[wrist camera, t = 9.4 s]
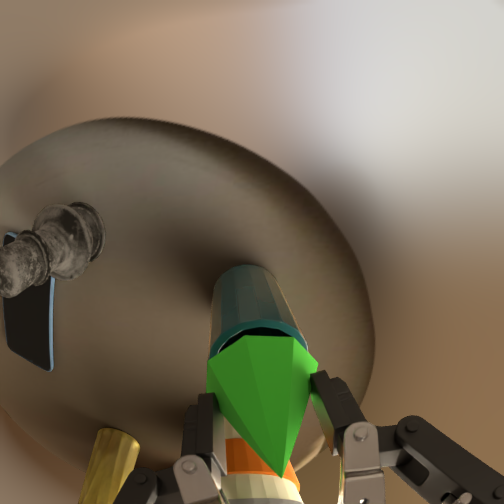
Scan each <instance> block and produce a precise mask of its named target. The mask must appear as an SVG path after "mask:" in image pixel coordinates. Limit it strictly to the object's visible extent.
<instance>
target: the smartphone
mask: <svg viewBox="0 0 504 504" xmlns="http://www.w3.org/2000/svg"><path fill="white" fill-rule="evenodd" d="M17 235H18V234H15V233H13V232H8V233H6V234H5V236H4V239H3V246H5V245H7V244H9V243H12V242H14V241H15V238H16V236H17ZM54 283H55V278H53V277H52V276H50V275H49V277H48V279H47V281H46V282H44V283H43V284H42V285H39V286H34V285H30V286H29V287H27V288H26V289H25V290H23V291H22V292H21V293H19V294H18V295H17V296H14V297H11V298H6V297H3V296H2V297H3V313H4V324H5V333H6V341H7V344H8V347H9V348H10V349H11V350H12V351H13V352H14V353H16V354H18V355H19V356H21V357H22V358H24V359H26V360H27V361H29V362H31V363H33V364H34V365H36V366H38V367H40V368H41V369H43V370H45V371H48V372H50V371H52V369H53V367H54V362H53V298H54Z"/></svg>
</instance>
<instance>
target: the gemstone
mask: <svg viewBox="0 0 504 504" xmlns="http://www.w3.org/2000/svg"><path fill="white" fill-rule="evenodd" d="M317 366H318V362H317V361H316V360H315V359H314V358H313V357H312V356H311V355H310V354H309V353H308V352H307V351H306V350H305V348H304V347H303V346H302V345H301V344H300V343H299V342H298V341H297V340H296V339H295V338H294V337H273V336H248V335H245V336H243V337H242V338H240V339H239V340H238V341H236V342H235V343H233V344H232V345H230V346H229V347H227V348H226V349H224V350H223V351H221V352H220V353H218V354H217V355H216V356H214V357H213V358H211V359H210V360H208V361H207V383H206V393H212V392H214V393H215V394H216V397H217V400H218V403H219V408H220V412H221V413H222V414H223V416H224V417H225V418H226V419H227V420H228V422H229V423H230V424H231V425H232V426H233V428H234V429H235V430H236V431H237V432H238V433H239V435H240V436H241V437H242V438H243V439H244V440H245V441H246V442H247V444H248V445H249V446H250V447H251V448H252V449H253V450H254V451H255V452H256V453H257V455H258V456H259V457H260V458H261V459H262V460H263V461H264V462H265V463H266V464H267V465H268V466H269V467H270V468H271V469H272V470H273V471H274V472H275V473H276V474H277V475H278V476H279V477H280V478H281V479H282V477H283V475H284V472H285V469H286V467H287V464H288V461H289V458H290V456H291V453H292V450H293V447H294V444H295V441H296V438H297V435H298V432H299V429H300V426H301V422H302V419H303V416H304V413H305V409H306V406H307V403H308V399H309V396H310V392H311V389H312V387H311V382H310V374H311V373H315V372H316V370H317Z"/></svg>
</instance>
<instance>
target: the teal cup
mask: <svg viewBox="0 0 504 504" xmlns="http://www.w3.org/2000/svg"><path fill="white" fill-rule="evenodd" d="M245 335H248V336H273V337H294V338H295V339H296V340H297V341H298V342H299V343H300V344H301V345H302V346H303V347H304V348H305V350H306V351H307V352H308V344H307V342H306V339H305V337H304V335H303V333H302V331H301V329H300V327H299V325H298V323H297V321H296V319H295V316H294V314H293V312H292V310H291V308H290V306H289V304H288V302H287V300H286V298H285V296H284V294H283V291H282V289H281V287H280V285H279V284H278V282H277V280H276V279H275V277H274V276H273V275H272V274H271V273H270V272H269V271H267V270H266V269H264V268H262V267H260V266H256V265H251V264H244V265H239V266H235V267H233V268H231V269H229V270H227V271H226V272H224V273H223V274H222V275H221V276H220V278H219V279H218V280H217V282H216V284H215V286H214V290H213V297H212V306H211V319H210V333H209V347H208V360H210V359H211V358H213V357H214V356H216V355H217V354H218V353H220V352H221V351H223V350H224V349H226V348H227V347H229V346H230V345H232V344H233V343H235V342H236V341H238V340H239V339H240V338H242V337H243V336H245Z"/></svg>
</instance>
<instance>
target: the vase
mask: <svg viewBox="0 0 504 504" xmlns="http://www.w3.org/2000/svg"><path fill="white" fill-rule="evenodd" d="M139 451H140V446H139V443H138V442H137V441H136V440H135V439H134V438H133V437H132V436H130V435H128V434H127V433H125V432H123V431H120V430H117V429H113V428H103V429H100V430H99V431H98V433H97V438H96V441H95V444H94V448H93V451H92V454H91V458H90V462H89V465H88V469H87V473H86V476H85V480H84V484H83V488H82V491H81V495H80V498H79V502H78V504H113V502H114V500H115V498H116V496H117V495H118V493H119V491H120V489H121V488H122V486H123V484H124V482H125V480H126V479H127V477H128V475H129V474H130V472H131V471H133V470H134V466H135V462H136V459H137V456H138V453H139Z"/></svg>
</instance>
